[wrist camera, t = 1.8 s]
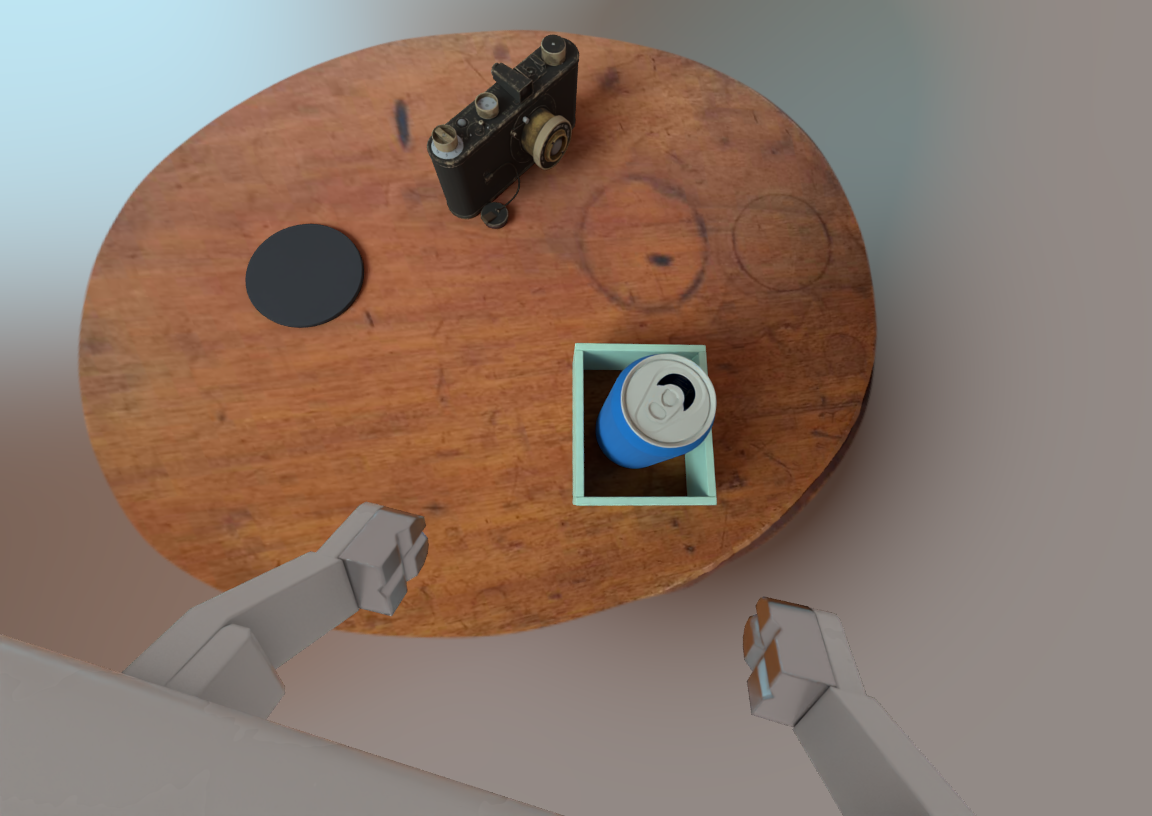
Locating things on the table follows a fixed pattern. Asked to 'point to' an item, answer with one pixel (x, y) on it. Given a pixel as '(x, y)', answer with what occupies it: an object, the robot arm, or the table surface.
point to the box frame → (585, 358)
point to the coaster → (304, 275)
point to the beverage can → (656, 411)
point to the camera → (508, 131)
